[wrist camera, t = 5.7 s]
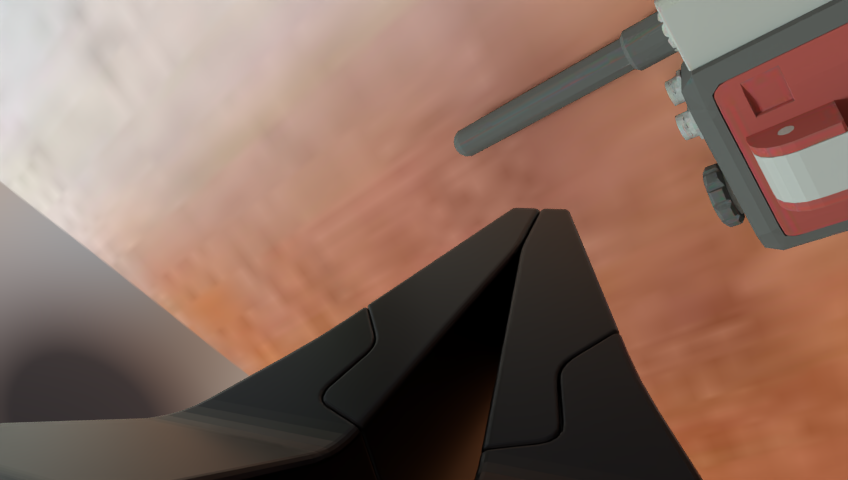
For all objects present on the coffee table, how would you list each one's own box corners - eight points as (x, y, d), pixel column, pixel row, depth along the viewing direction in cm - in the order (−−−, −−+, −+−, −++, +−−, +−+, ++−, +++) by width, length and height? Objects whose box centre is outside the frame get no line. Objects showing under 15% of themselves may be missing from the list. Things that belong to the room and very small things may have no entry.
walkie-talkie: (1296, -404, 11) (451, 108, 22) (1575, -501, 7) (410, 163, 19) (1347, 14, 13) (568, 280, 25) (1569, 84, 10) (551, 354, 22)
